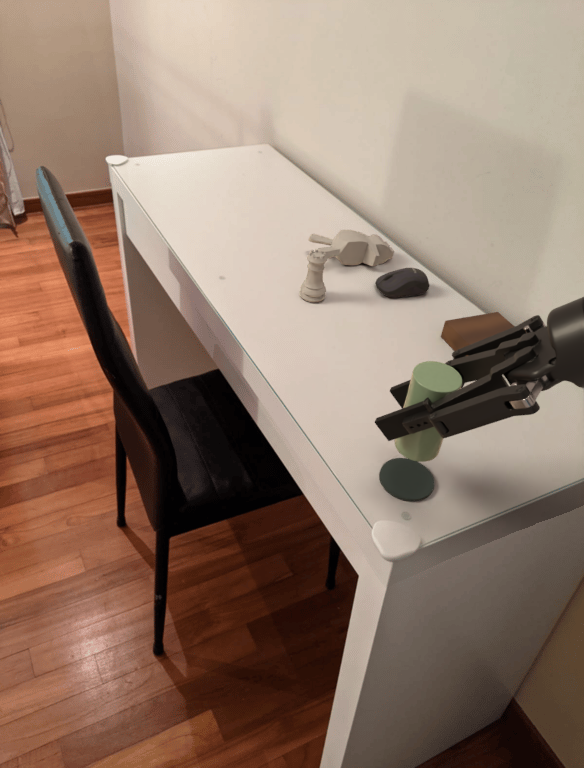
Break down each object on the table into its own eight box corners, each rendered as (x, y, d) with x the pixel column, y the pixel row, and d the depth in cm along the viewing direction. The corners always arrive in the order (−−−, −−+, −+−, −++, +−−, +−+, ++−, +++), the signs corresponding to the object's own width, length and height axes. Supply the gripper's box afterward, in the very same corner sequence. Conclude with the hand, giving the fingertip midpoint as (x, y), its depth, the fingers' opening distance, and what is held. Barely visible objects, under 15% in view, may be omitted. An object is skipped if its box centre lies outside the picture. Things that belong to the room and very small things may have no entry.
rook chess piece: (293, 293, 102) (297, 250, 97) (314, 287, 104) (319, 244, 99) (310, 306, 99) (315, 262, 94) (331, 299, 101) (337, 255, 96)
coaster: (444, 493, 70) (445, 491, 70) (396, 507, 68) (396, 505, 68) (415, 455, 75) (416, 452, 74) (369, 466, 73) (370, 464, 72)
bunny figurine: (403, 250, 108) (324, 245, 104) (394, 275, 111) (317, 271, 107) (383, 227, 115) (309, 220, 110) (376, 251, 118) (303, 246, 114)
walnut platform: (532, 363, 92) (539, 347, 90) (477, 375, 88) (483, 358, 86) (492, 327, 99) (497, 311, 97) (440, 336, 95) (445, 320, 93)
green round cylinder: (447, 456, 67) (472, 386, 61) (408, 466, 65) (429, 396, 59) (424, 426, 70) (444, 357, 64) (386, 435, 69) (403, 365, 62)
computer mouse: (370, 283, 106) (374, 262, 104) (419, 280, 109) (424, 260, 106) (382, 300, 102) (386, 279, 100) (432, 297, 105) (438, 276, 102)
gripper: (592, 254, 58) (393, 344, 72) (585, 355, 45) (343, 440, 59) (628, 317, 60) (427, 392, 74) (630, 431, 47) (385, 495, 61)
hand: (390, 413), depth 67 cm, fingers closed on green round cylinder, 5 cm apart
